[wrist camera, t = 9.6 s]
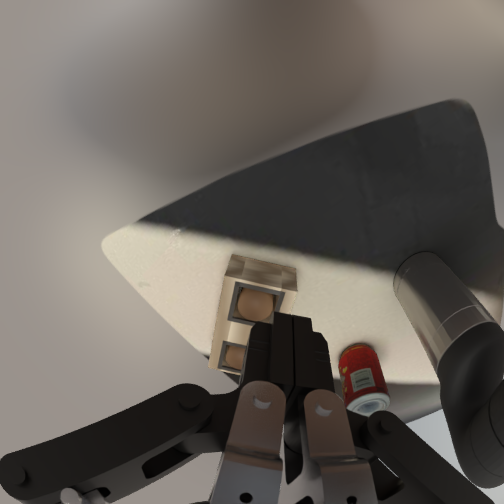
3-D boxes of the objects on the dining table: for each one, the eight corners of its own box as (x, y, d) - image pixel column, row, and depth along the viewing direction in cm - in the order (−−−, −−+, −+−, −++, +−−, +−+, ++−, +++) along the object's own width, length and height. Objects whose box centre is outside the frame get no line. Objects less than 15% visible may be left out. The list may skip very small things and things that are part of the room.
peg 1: (261, 327, 45) (258, 352, 39) (255, 346, 47) (252, 372, 41) (233, 321, 45) (228, 346, 39) (229, 341, 47) (223, 366, 41)
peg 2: (277, 274, 40) (276, 296, 35) (269, 299, 42) (268, 323, 37) (246, 266, 40) (241, 288, 35) (240, 292, 42) (234, 316, 37)
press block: (295, 268, 40) (297, 292, 35) (267, 353, 47) (264, 380, 42) (232, 254, 40) (224, 275, 35) (215, 342, 47) (207, 367, 42)
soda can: (330, 352, 46) (338, 409, 35) (367, 334, 44) (384, 390, 33) (345, 374, 48) (355, 427, 37) (380, 357, 46) (396, 410, 35)
